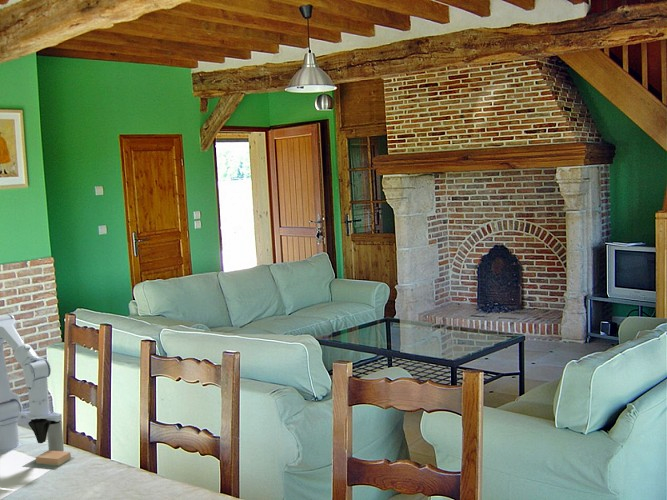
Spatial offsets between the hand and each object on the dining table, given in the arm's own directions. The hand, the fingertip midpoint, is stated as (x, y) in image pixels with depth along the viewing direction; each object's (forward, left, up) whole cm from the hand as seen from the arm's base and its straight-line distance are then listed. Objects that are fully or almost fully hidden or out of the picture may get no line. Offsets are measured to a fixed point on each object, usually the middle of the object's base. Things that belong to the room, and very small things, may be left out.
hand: (41, 442), depth 231 cm
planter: (-1, +8, -7) cm, 11 cm away
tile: (0, 0, -5) cm, 5 cm away
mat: (+3, 0, -6) cm, 7 cm away
